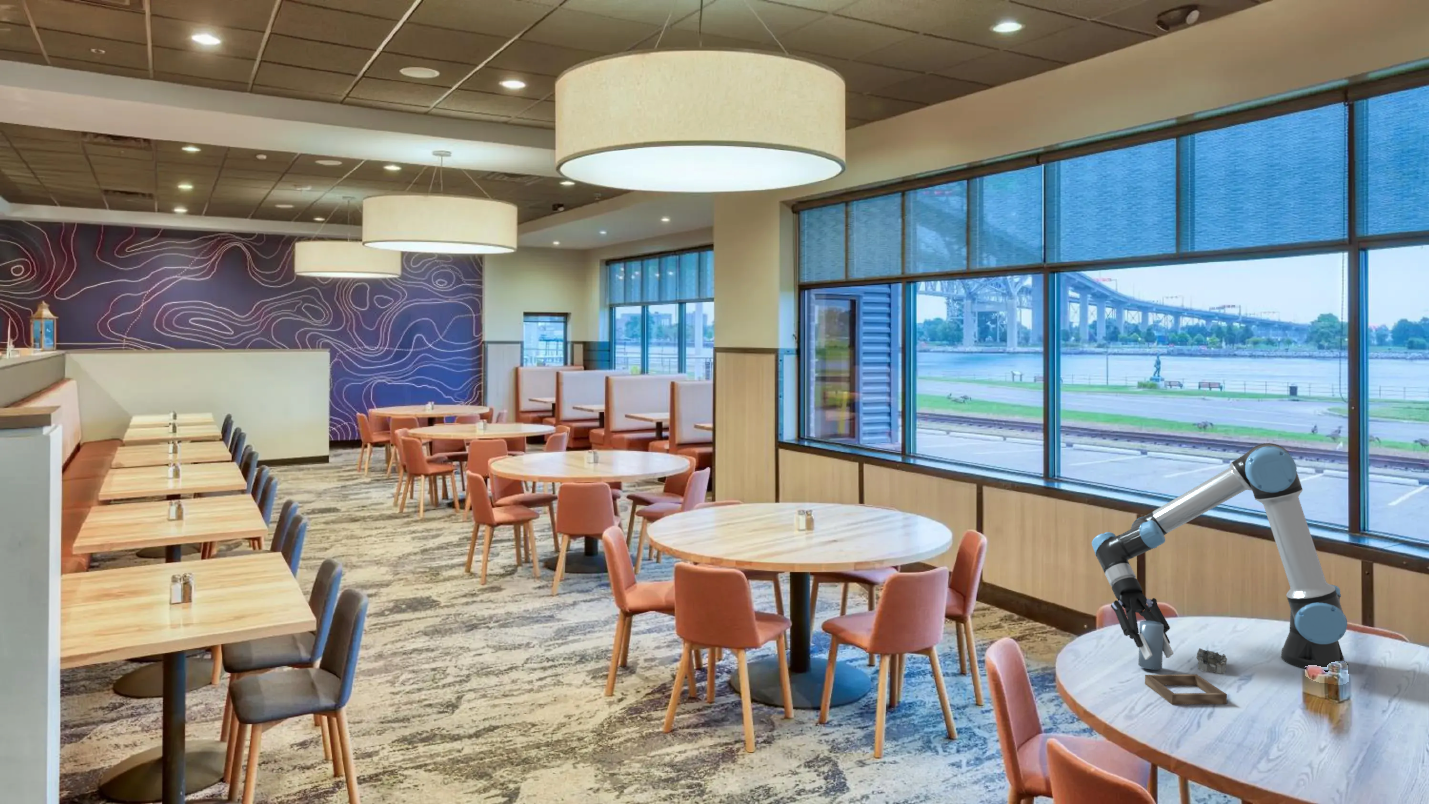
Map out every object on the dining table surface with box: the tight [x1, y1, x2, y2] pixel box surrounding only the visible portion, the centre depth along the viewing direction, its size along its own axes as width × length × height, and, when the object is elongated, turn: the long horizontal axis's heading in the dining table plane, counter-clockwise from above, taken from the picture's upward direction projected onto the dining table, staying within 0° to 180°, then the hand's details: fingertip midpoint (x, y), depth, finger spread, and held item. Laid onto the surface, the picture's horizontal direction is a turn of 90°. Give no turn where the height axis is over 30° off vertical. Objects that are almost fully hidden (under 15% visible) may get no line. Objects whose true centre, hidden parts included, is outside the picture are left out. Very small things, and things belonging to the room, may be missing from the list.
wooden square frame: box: [1144, 673, 1228, 705], centre depth 243 cm, size 14×14×2 cm
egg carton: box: [1195, 648, 1228, 675], centre depth 262 cm, size 11×8×4 cm
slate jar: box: [1138, 619, 1164, 671], centre depth 260 cm, size 6×6×12 cm
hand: (1159, 656), depth 257 cm, fingers closed on slate jar, 6 cm apart
